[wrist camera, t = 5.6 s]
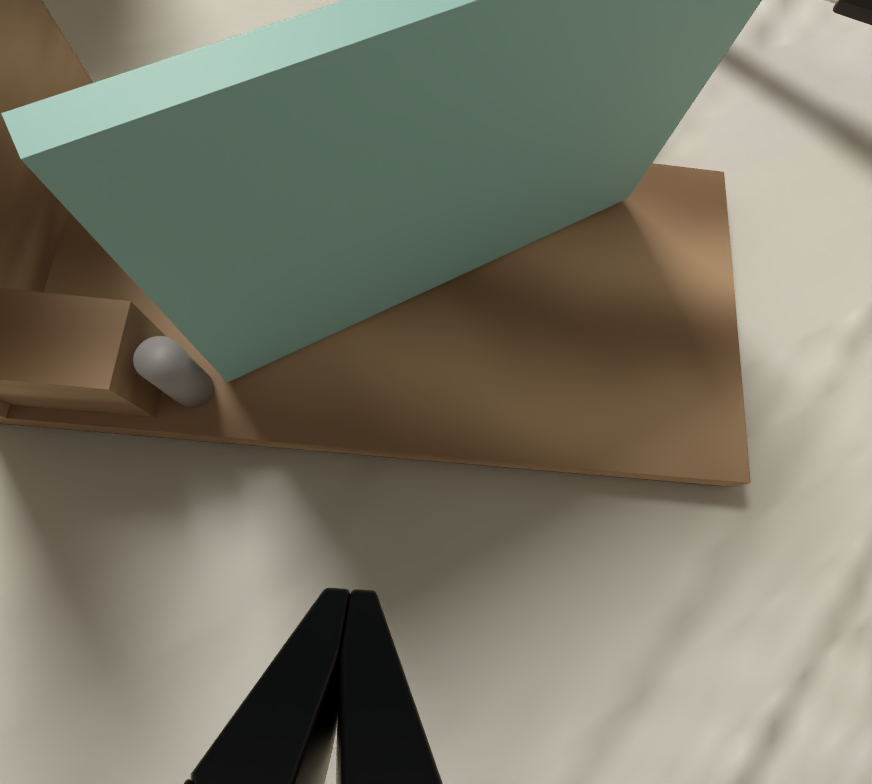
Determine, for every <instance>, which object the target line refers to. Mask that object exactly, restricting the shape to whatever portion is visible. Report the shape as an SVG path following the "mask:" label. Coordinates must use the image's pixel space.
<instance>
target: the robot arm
mask: <svg viewBox="0 0 872 784" xmlns="http://www.w3.org/2000/svg"><path fill="white" fill-rule="evenodd" d="M337 721H338V722H337ZM336 728H337V753H336V784H443V783H442V780H441V777H440V774H439V772H438V769H437V766H436V763H435V760H434V757H433V754H432V751H431V748H430V746H429V743H428V740H427V737H426V734H425V731H424V728H423V725H422V723H421V720H420V717H419V714H418V711H417V708H416V705H415V702H414V700H413V697H412V694H411V691H410V688H409V685H408V682H407V679H406V677H405V674H404V671H403V668H402V665H401V662H400V659H399V656H398V653H397V651H396V648H395V645H394V642H393V639H392V636H391V633H390V630H389V628H388V625H387V622H386V619H385V616H384V613H383V610H382V607H381V605H380V602H379V599H378V596H377V594H376V592H375V591H372V590H356V589H355V590H352V591H351V593H350V592H349V590H347V589H340V588H326V589H325V590H324V591H323V592H322V593H321V594H320V596H319V597H318V599H317V600H316V601H315V603H314V604H313V605H312V607H311V608H310V610H309V611H308V612H307V614H306V615H305V617H304V618H303V619H302V621H301V622H300V623H299V625H298V626H297V628H296V629H295V630H294V632H293V633H292V635H291V636H290V637H289V639H288V640H287V641H286V643H285V644H284V646H283V647H282V648H281V650H280V651H279V653H278V654H277V655H276V657H275V658H274V660H273V661H272V662H271V664H270V665H269V666H268V668H267V669H266V671H265V672H264V673H263V675H262V676H261V678H260V679H259V680H258V682H257V683H256V684H255V686H254V687H253V689H252V690H251V691H250V693H249V694H248V696H247V697H246V698H245V700H244V701H243V703H242V704H241V705H240V707H239V708H238V709H237V711H236V712H235V714H234V715H233V716H232V718H231V719H230V721H229V722H228V723H227V725H226V726H225V727H224V729H223V730H222V732H221V733H220V734H219V736H218V737H217V739H216V740H215V741H214V743H213V744H212V745H211V747H210V748H209V750H208V751H207V752H206V754H205V755H204V757H203V758H202V759H201V761H200V762H199V764H198V765H197V766H196V768H195V769H194V770H193V772H192V773H191V779H188V780H186V781H185V783H184V784H324V783H325V779H326V774H327V770H328V766H329V761H330V757H331V753H332V749H333V744H334V739H335V734H336Z"/></svg>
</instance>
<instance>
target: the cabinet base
mask: <svg viewBox="0 0 872 784" xmlns="http://www.w3.org/2000/svg"><path fill="white" fill-rule="evenodd" d="M91 83H93V82H92V80H91V79H90V77H89V75H88V74H87V72H86V71H85V69H84V67H83V66H82V64H81V63H80V61H79V59H78V58H77V56H76V55H75V53H74V51H73V50H72V48H71V47H70V45H69V43H68V42H67V40H66V38H65V37H64V35H63V34H62V32H61V30H60V29H59V27H58V26H57V24H56V22H55V21H54V19H53V18H52V16H51V14H50V13H49V11H48V10H47V8H46V6H45V5H44V3H43V2H42V0H0V423H2V424H13V425H25V426H36V427H48V428H59V429H71V430H83V431H94V432H106V433H117V434H129V435H140V436H152V437H164V438H175V439H187V440H198V441H210V442H221V443H233V444H244V445H256V446H268V447H279V448H291V449H302V450H314V451H325V452H337V453H349V454H360V455H372V456H383V457H395V458H406V459H418V460H430V461H441V462H453V463H464V464H476V465H487V466H499V467H510V468H522V469H534V470H545V471H557V472H568V473H580V474H591V475H603V476H615V477H626V478H638V479H649V480H661V481H672V482H684V483H696V484H707V485H719V486H730V487H733V486H738V485H743V484H748V483H750V471H749V459H748V447H747V436H746V424H745V412H744V401H743V389H742V377H741V366H740V354H739V342H738V330H737V319H736V307H735V295H734V284H733V272H732V260H731V249H730V237H729V225H728V213H727V202H726V190H725V178H724V172H720V171H711V170H703V169H695V168H686V167H678V166H670V165H661V164H653V163H652V164H651V165H650V167H649V168H648V170H647V171H646V173H645V174H644V176H643V177H642V179H641V180H640V182H639V183H638V185H637V186H636V188H635V189H634V191H633V192H632V194H631V195H630V196H629V198H628V199H625V200H623V201H621V202H619V203H617V204H615V205H612V206H610V207H608V208H606V209H604V210H602V211H599V212H597V213H595V214H593V215H591V216H589V217H586V218H584V219H582V220H580V221H578V222H575V223H573V224H571V225H569V226H567V227H565V228H562V229H560V230H558V231H556V232H554V233H552V234H549V235H547V236H545V237H543V238H541V239H539V240H536V241H534V242H532V243H530V244H528V245H525V246H523V247H521V248H519V249H517V250H515V251H512V252H510V253H508V254H506V255H504V256H502V257H499V258H497V259H495V260H493V261H491V262H489V263H486V264H484V265H482V266H480V267H478V268H475V269H473V270H471V271H469V272H467V273H465V274H462V275H460V276H458V277H456V278H454V279H452V280H449V281H447V282H445V283H443V284H441V285H439V286H436V287H434V288H432V289H430V290H428V291H426V292H423V293H421V294H419V295H417V296H415V297H412V298H410V299H408V300H406V301H404V302H402V303H399V304H397V305H395V306H393V307H391V308H389V309H386V310H384V311H382V312H380V313H378V314H376V315H373V316H371V317H369V318H367V319H365V320H362V321H360V322H358V323H356V324H354V325H352V326H349V327H347V328H345V329H343V330H341V331H339V332H336V333H334V334H332V335H330V336H328V337H326V338H323V339H321V340H319V341H317V342H315V343H312V344H310V345H308V346H306V347H304V348H302V349H299V350H297V351H295V352H293V353H291V354H289V355H286V356H284V357H282V358H280V359H278V360H276V361H273V362H271V363H269V364H267V365H265V366H262V367H260V368H258V369H256V370H254V371H252V372H249V373H247V374H245V375H243V376H241V377H239V378H236V379H234V380H232V381H230V382H228V383H227V382H226V380H225V379H224V378H223V377H222V376H221V375H220V374H219V373H218V372H217V371H216V370H215V369H214V368H213V366H212V365H211V364H210V363H209V362H208V361H207V360H206V359H205V358H204V357H203V356H202V355H201V353H200V352H199V351H198V350H197V349H196V348H195V347H194V346H193V345H192V344H191V343H190V342H189V340H188V339H187V338H186V337H185V336H184V335H183V334H182V333H181V332H180V331H179V330H178V329H177V328H176V326H175V325H174V324H173V323H172V322H171V321H170V320H169V319H168V318H167V317H166V316H165V315H164V313H163V312H162V311H161V310H160V309H159V308H158V307H157V306H156V305H155V304H154V303H153V302H152V300H151V299H150V298H149V297H148V296H147V295H146V294H145V293H144V292H143V291H142V290H141V289H140V287H139V286H138V285H137V284H136V283H135V282H134V281H133V280H132V279H131V278H130V277H129V276H128V275H127V273H126V272H125V271H124V270H123V269H122V268H121V267H120V266H119V265H118V264H117V263H116V262H115V260H114V259H113V258H112V257H111V256H110V255H109V254H108V253H107V252H106V251H105V250H104V249H103V247H102V246H101V245H100V244H99V243H98V242H97V241H96V240H95V239H94V238H93V237H92V236H91V235H90V233H89V232H88V231H87V230H86V229H85V228H84V227H83V226H82V225H81V224H80V223H79V222H78V220H77V219H76V218H75V217H74V216H73V215H72V214H71V213H70V212H69V211H68V210H67V209H66V207H65V206H64V205H63V204H62V203H61V202H60V201H59V200H58V199H57V198H56V197H55V196H54V195H53V193H52V192H51V191H50V190H49V189H48V188H47V187H46V186H45V185H44V184H43V183H42V182H41V180H40V179H39V178H38V177H37V176H36V175H35V174H34V173H33V172H32V171H31V170H30V169H29V167H28V166H27V165H26V164H25V163H24V162H23V161H22V160H21V159H20V156H19V154H18V152H17V149H16V147H15V144H14V142H13V140H12V137H11V135H10V133H9V130H8V128H7V126H6V123H5V121H4V119H3V116H2V114H1V113H3V112H6V111H10V110H13V109H16V108H19V107H22V106H25V105H28V104H31V103H34V102H37V101H40V100H43V99H46V98H49V97H52V96H55V95H58V94H61V93H64V92H67V91H70V90H73V89H76V88H79V87H82V86H85V85H88V84H91ZM155 336H165V337H169V338H171V339H173V340H174V341H176V342H177V343H178V344H179V345H180V346H181V347H182V348H183V349H184V350H185V351H186V352H187V354H188V355H189V356H190V357H191V358H192V359H193V360H194V361H195V362H196V363H197V364H198V365H199V366H200V367H201V368H202V369H203V370H204V371H205V372H206V373H207V374H208V375H209V376H210V377H211V378H212V380H213V383H214V391H213V394H212V396H211V398H210V399H209V400H208V401H207V402H206V403H205V404H203V405H202V406H199V407H195V408H188V407H185V406H182V405H181V404H179V403H178V402H176V401H175V400H174V399H172V398H171V397H170V396H168V395H167V394H165V393H164V392H163V391H161V390H160V389H159V388H157V387H156V386H155V385H153V384H152V383H150V382H149V381H148V380H146V379H145V378H144V377H142V376H141V375H140V374H139V373H138V372H137V371H136V369H135V367H134V363H133V357H134V353H135V351H136V349H137V348H138V346H139V345H140V344H141V343H142V342H143V341H145V340H147V339H149V338H151V337H155Z"/></svg>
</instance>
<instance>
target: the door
mask: <svg viewBox="0 0 872 784" xmlns="http://www.w3.org/2000/svg"><path fill="white" fill-rule="evenodd" d="M761 1H762V0H343V1H340V2H337V3H334V4H331V5H328V6H325V7H322V8H319V9H316V10H313V11H310V12H307V13H304V14H301V15H298V16H295V17H292V18H289V19H286V20H283V21H280V22H277V23H274V24H271V25H268V26H264V27H261V28H258V29H255V30H252V31H249V32H246V33H243V34H240V35H237V36H234V37H231V38H228V39H225V40H222V41H219V42H216V43H213V44H210V45H207V46H204V47H201V48H198V49H195V50H192V51H189V52H186V53H183V54H179V55H176V56H173V57H170V58H167V59H164V60H161V61H158V62H155V63H152V64H149V65H146V66H143V67H140V68H137V69H134V70H131V71H128V72H125V73H122V74H119V75H116V76H113V77H110V78H107V79H104V80H101V81H98V82H95V83H91V84H88V85H85V86H82V87H79V88H76V89H73V90H70V91H67V92H64V93H61V94H58V95H55V96H52V97H49V98H46V99H43V100H40V101H37V102H34V103H31V104H28V105H25V106H22V107H19V108H16V109H13V110H10V111H6V112H3V113H1V114H2V116H3V119H4V121H5V123H6V126H7V128H8V130H9V133H10V135H11V137H12V140H13V142H14V144H15V147H16V149H17V152H18V154H19V156H20V159H21V160H22V161H23V162H24V163H25V164H26V165H27V166H28V167H29V169H30V170H31V171H32V172H33V173H34V174H35V175H36V176H37V177H38V178H39V179H40V180H41V182H42V183H43V184H44V185H45V186H46V187H47V188H48V189H49V190H50V191H51V192H52V193H53V195H54V196H55V197H56V198H57V199H58V200H59V201H60V202H61V203H62V204H63V205H64V206H65V207H66V209H67V210H68V211H69V212H70V213H71V214H72V215H73V216H74V217H75V218H76V219H77V220H78V222H79V223H80V224H81V225H82V226H83V227H84V228H85V229H86V230H87V231H88V232H89V233H90V235H91V236H92V237H93V238H94V239H95V240H96V241H97V242H98V243H99V244H100V245H101V246H102V247H103V249H104V250H105V251H106V252H107V253H108V254H109V255H110V256H111V257H112V258H113V259H114V260H115V262H116V263H117V264H118V265H119V266H120V267H121V268H122V269H123V270H124V271H125V272H126V273H127V275H128V276H129V277H130V278H131V279H132V280H133V281H134V282H135V283H136V284H137V285H138V286H139V287H140V289H141V290H142V291H143V292H144V293H145V294H146V295H147V296H148V297H149V298H150V299H151V300H152V302H153V303H154V304H155V305H156V306H157V307H158V308H159V309H160V310H161V311H162V312H163V313H164V315H165V316H166V317H167V318H168V319H169V320H170V321H171V322H172V323H173V324H174V325H175V326H176V328H177V329H178V330H179V331H180V332H181V333H182V334H183V335H184V336H185V337H186V338H187V339H188V340H189V342H190V343H191V344H192V345H193V346H194V347H195V348H196V349H197V350H198V351H199V352H200V353H201V355H202V356H203V357H204V358H205V359H206V360H207V361H208V362H209V363H210V364H211V365H212V366H213V368H214V369H215V370H216V371H217V372H218V373H219V374H220V375H221V376H222V377H223V378H224V379H225V380H226V382H227V383H228V382H230V381H232V380H234V379H236V378H239V377H241V376H243V375H245V374H247V373H249V372H252V371H254V370H256V369H258V368H260V367H262V366H265V365H267V364H269V363H271V362H273V361H276V360H278V359H280V358H282V357H284V356H286V355H289V354H291V353H293V352H295V351H297V350H299V349H302V348H304V347H306V346H308V345H310V344H312V343H315V342H317V341H319V340H321V339H323V338H326V337H328V336H330V335H332V334H334V333H336V332H339V331H341V330H343V329H345V328H347V327H349V326H352V325H354V324H356V323H358V322H360V321H362V320H365V319H367V318H369V317H371V316H373V315H376V314H378V313H380V312H382V311H384V310H386V309H389V308H391V307H393V306H395V305H397V304H399V303H402V302H404V301H406V300H408V299H410V298H412V297H415V296H417V295H419V294H421V293H423V292H426V291H428V290H430V289H432V288H434V287H436V286H439V285H441V284H443V283H445V282H447V281H449V280H452V279H454V278H456V277H458V276H460V275H462V274H465V273H467V272H469V271H471V270H473V269H475V268H478V267H480V266H482V265H484V264H486V263H489V262H491V261H493V260H495V259H497V258H499V257H502V256H504V255H506V254H508V253H510V252H512V251H515V250H517V249H519V248H521V247H523V246H525V245H528V244H530V243H532V242H534V241H536V240H539V239H541V238H543V237H545V236H547V235H549V234H552V233H554V232H556V231H558V230H560V229H562V228H565V227H567V226H569V225H571V224H573V223H575V222H578V221H580V220H582V219H584V218H586V217H589V216H591V215H593V214H595V213H597V212H599V211H602V210H604V209H606V208H608V207H610V206H612V205H615V204H617V203H619V202H621V201H623V200H625V199H628V198H629V196H630V195H631V194H632V192H633V191H634V189H635V188H636V186H637V185H638V183H639V182H640V180H641V179H642V177H643V176H644V174H645V173H646V171H647V170H648V168H649V167H650V165H651V164H652V162H653V161H654V159H655V158H656V156H657V155H658V153H659V152H660V151H661V149H662V148H663V146H664V145H665V143H666V142H667V140H668V139H669V137H670V136H671V134H672V133H673V131H674V130H675V128H676V127H677V125H678V124H679V122H680V121H681V119H682V118H683V116H684V115H685V113H686V112H687V110H688V109H689V107H690V106H691V105H692V103H693V102H694V100H695V99H696V97H697V96H698V94H699V93H700V91H701V90H702V88H703V87H704V85H705V84H706V82H707V81H708V79H709V78H710V76H711V75H712V73H713V72H714V70H715V69H716V67H717V66H718V64H719V63H720V62H721V60H722V59H723V57H724V56H725V54H726V53H727V51H728V50H729V48H730V47H731V45H732V44H733V42H734V41H735V39H736V38H737V36H738V35H739V33H740V32H741V30H742V29H743V27H744V26H745V24H746V23H747V21H748V20H749V19H750V17H751V16H752V14H753V13H754V11H755V10H756V8H757V7H758V5H759V4H760V2H761ZM133 363H134V367H135V369H136V371H137V372H138V373H139V374H140V375H141V376H142V377H144V378H145V379H146V380H148V381H149V382H150V383H152V384H153V385H155V386H156V387H157V388H159V389H160V390H161V391H163V392H164V393H165V394H167V395H168V396H170V397H171V398H172V399H174V400H175V401H176V402H178V403H179V404H181V405H182V406H185V407H188V408H195V407H199V406H202V405H203V404H205V403H206V402H207V401H208V400H209V399H210V398H211V396H212V394H213V391H214V383H213V380H212V378H211V377H210V376H209V375H208V374H207V373H206V372H205V371H204V370H203V369H202V368H201V367H200V366H199V365H198V364H197V363H196V362H195V361H194V360H193V359H192V358H191V357H190V356H189V355H188V354H187V352H186V351H185V350H184V349H183V348H182V347H181V346H180V345H179V344H178V343H177V342H176V341H174V340H173V339H171V338H169V337H165V336H155V337H151V338H149V339H147V340H145V341H143V342H142V343H141V344H140V345H139V346H138V348H137V349H136V351H135V353H134V357H133Z"/></svg>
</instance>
